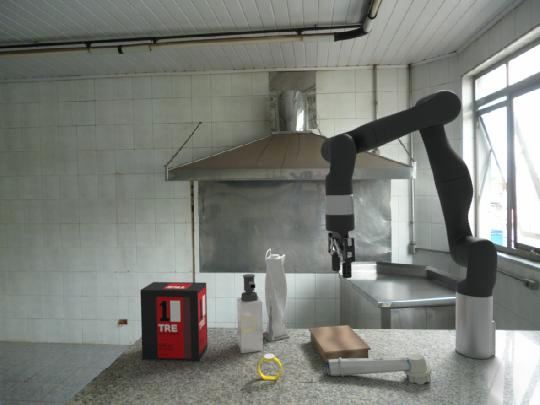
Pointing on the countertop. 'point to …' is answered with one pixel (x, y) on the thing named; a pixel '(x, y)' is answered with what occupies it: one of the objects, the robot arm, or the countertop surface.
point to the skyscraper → (275, 297)
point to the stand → (338, 343)
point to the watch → (269, 358)
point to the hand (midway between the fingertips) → (341, 274)
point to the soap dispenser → (249, 318)
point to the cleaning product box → (174, 321)
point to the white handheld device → (382, 367)
